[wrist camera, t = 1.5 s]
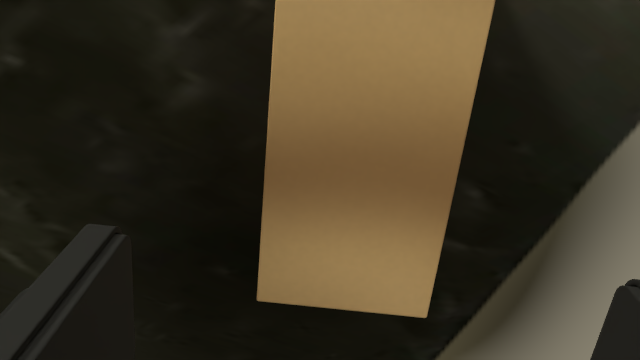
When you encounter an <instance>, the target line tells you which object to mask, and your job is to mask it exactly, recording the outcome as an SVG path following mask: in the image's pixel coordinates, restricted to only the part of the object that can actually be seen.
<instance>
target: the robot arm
mask: <svg viewBox="0 0 640 360" xmlns="http://www.w3.org/2000/svg"><path fill="white" fill-rule="evenodd" d="M134 356H135V328H134V301H133V274H132V246H131V238H130V236H129V235H122V231H121V229H120V228H119V227H116V226H106V225H96V224H87V225H86V226H85V227H84V228H83V229H82V230H81V231H80V232H79V233H78V234H77V235H76V237H75V238H74V239H73V240H72V241H71V242H70V243H69V244H68V245H67V246H66V248H65V249H64V250H63V251H62V252H61V253H60V254H59V255H58V256H57V257H56V258H55V260H54V261H53V262H52V263H51V264H50V265H49V266H48V267H47V268H46V269H45V271H44V272H43V273H42V274H41V275H40V276H39V277H38V278H37V279H36V280H35V282H34V283H33V284H32V285H31V286H30V287H29V288H27V289H24V290H23V291H22V292H21V293H20V294H18V295H17V297H16V298H15V299H14V300H13V301H12V302H11V303H10V304H9V305H8V306H7V307H6V308H5V310H4V311H3V312H2V313H1V314H0V360H134ZM590 360H640V280H637V279H632V280H629V281H628V282H627V283H626V284H625V286H620V287H619V288H618V289H617V290H616V292H615V294H614V297H613V300H612V303H611V305H610V308H609V311H608V313H607V316H606V319H605V322H604V324H603V327H602V330H601V332H600V335H599V338H598V341H597V343H596V346H595V349H594V351H593V354H592V357H591V359H590Z"/></svg>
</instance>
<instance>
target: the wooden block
mask: <svg viewBox="0 0 640 360" xmlns="http://www.w3.org/2000/svg"><path fill="white" fill-rule="evenodd" d="M494 5H495V0H276V1H275V17H274V33H273V49H272V65H271V80H270V96H269V112H268V128H267V144H266V159H265V175H264V191H263V207H262V223H261V238H260V254H259V270H258V286H257V301H262V302H272V303H282V304H292V305H302V306H312V307H321V308H331V309H341V310H351V311H361V312H371V313H381V314H391V315H400V316H410V317H420V318H426V317H427V314H428V309H429V305H430V300H431V295H432V291H433V286H434V281H435V277H436V272H437V268H438V263H439V258H440V254H441V249H442V245H443V240H444V235H445V231H446V226H447V221H448V217H449V212H450V208H451V203H452V198H453V194H454V189H455V185H456V180H457V175H458V171H459V166H460V161H461V157H462V152H463V148H464V143H465V138H466V134H467V129H468V125H469V120H470V115H471V111H472V106H473V102H474V97H475V92H476V88H477V83H478V78H479V74H480V69H481V65H482V60H483V55H484V51H485V46H486V42H487V37H488V32H489V28H490V23H491V18H492V14H493V9H494Z"/></svg>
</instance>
